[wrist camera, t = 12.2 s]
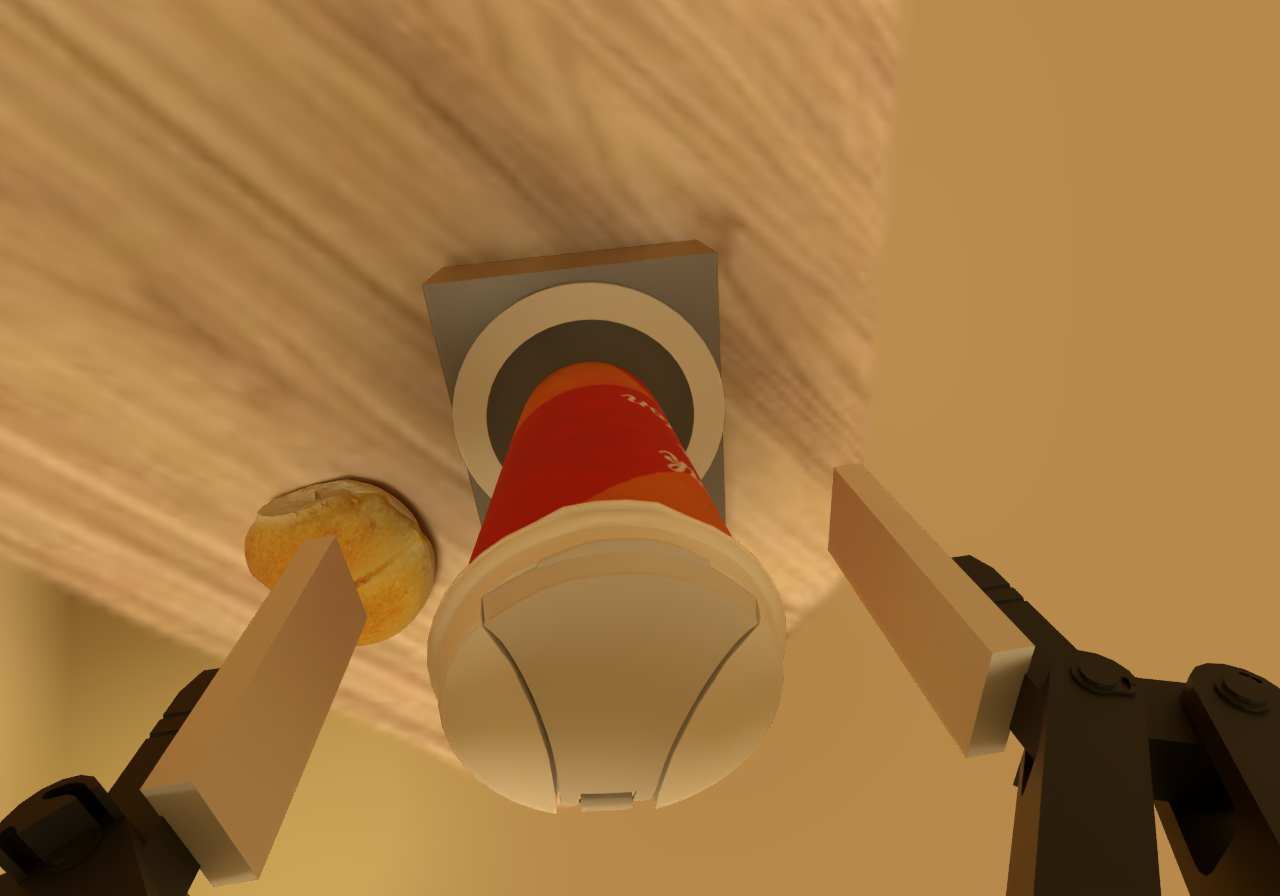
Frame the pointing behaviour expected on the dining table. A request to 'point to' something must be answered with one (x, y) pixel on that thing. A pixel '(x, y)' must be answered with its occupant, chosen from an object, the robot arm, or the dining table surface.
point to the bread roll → (351, 548)
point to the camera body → (581, 343)
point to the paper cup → (604, 613)
